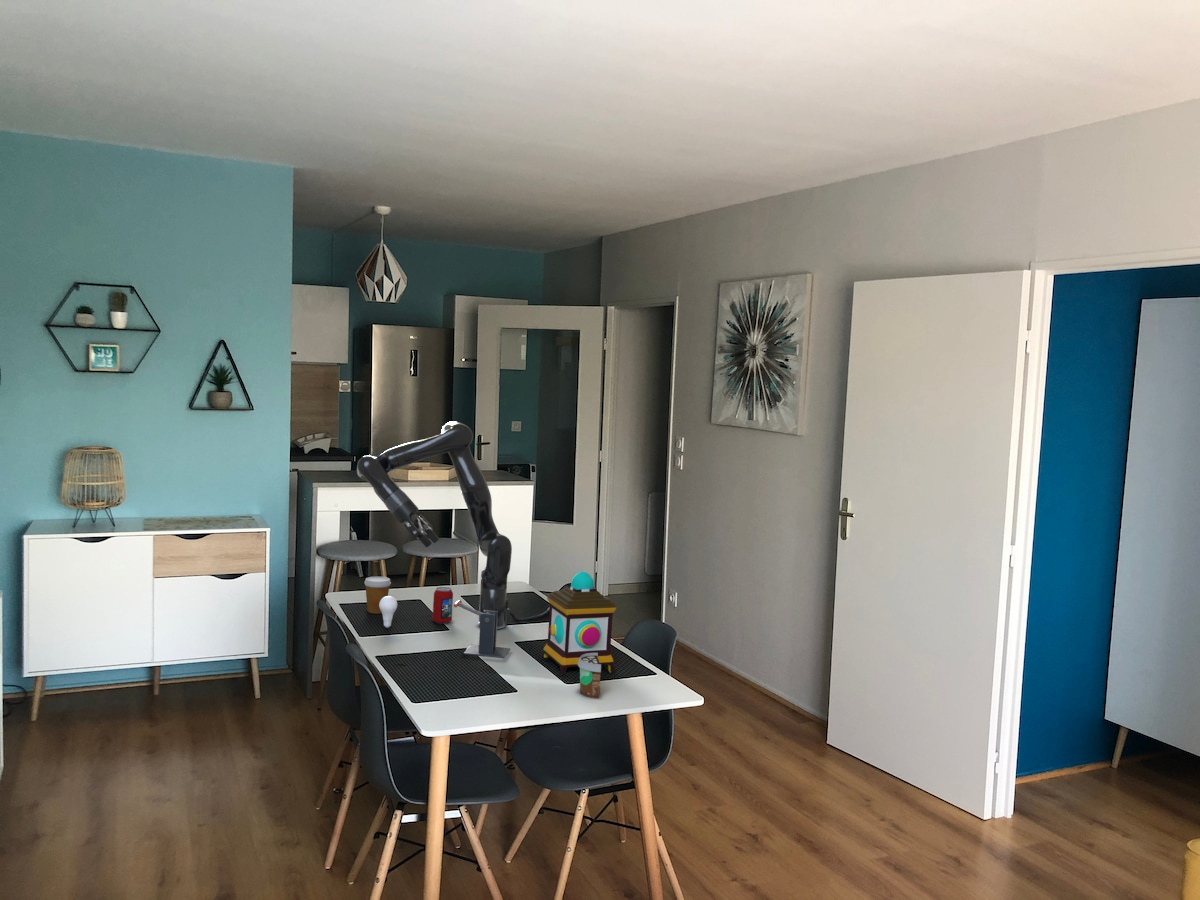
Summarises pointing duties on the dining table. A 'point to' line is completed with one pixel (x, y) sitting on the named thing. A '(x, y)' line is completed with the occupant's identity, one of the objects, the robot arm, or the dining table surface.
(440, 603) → the beverage can
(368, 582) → the disposable coffee cup
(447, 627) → the dining table surface
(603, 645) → the decorative lantern
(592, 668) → the food container
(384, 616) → the lightbulb
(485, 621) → the bracket
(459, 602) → the lever
